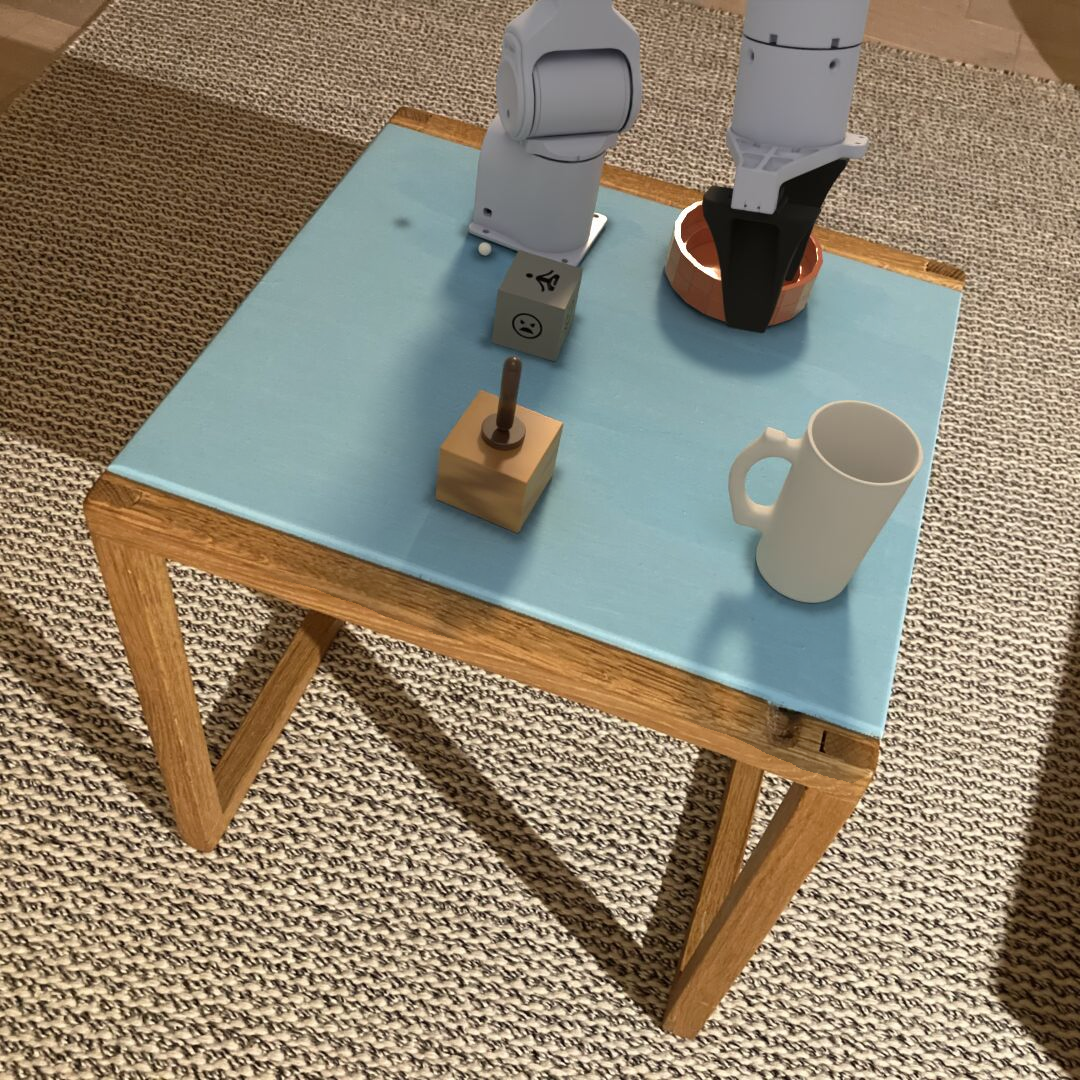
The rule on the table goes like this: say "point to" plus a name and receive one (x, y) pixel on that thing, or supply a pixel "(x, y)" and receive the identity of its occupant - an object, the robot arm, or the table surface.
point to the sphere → (484, 248)
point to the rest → (497, 465)
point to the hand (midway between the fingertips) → (761, 301)
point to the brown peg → (506, 411)
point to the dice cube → (536, 305)
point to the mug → (827, 495)
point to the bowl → (700, 275)
